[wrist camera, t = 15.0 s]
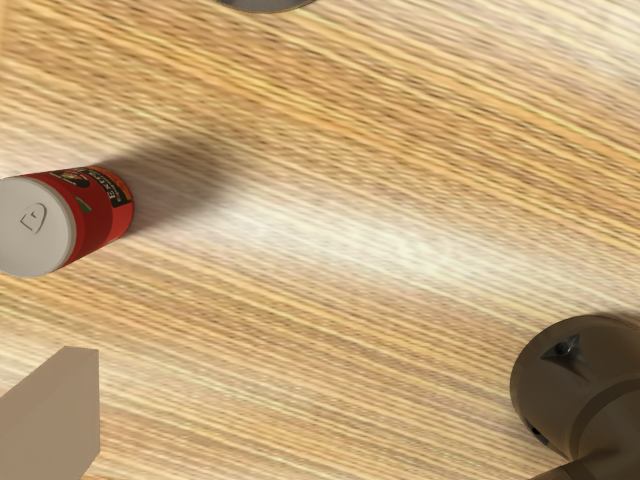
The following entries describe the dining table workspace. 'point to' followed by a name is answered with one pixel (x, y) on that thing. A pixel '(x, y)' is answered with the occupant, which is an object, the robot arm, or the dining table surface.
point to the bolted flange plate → (264, 5)
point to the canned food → (59, 218)
